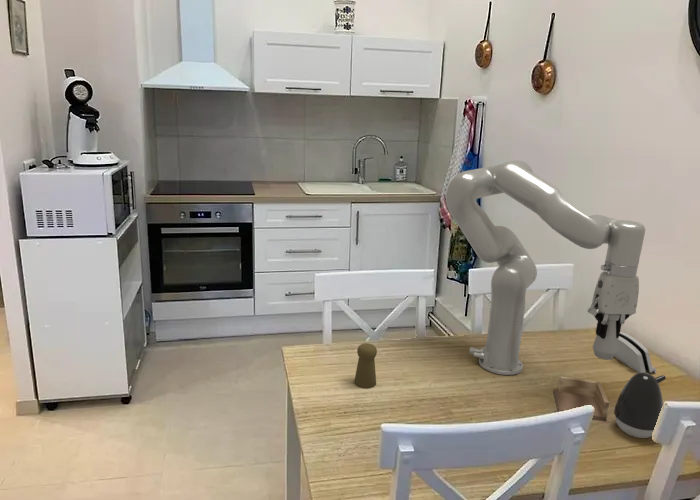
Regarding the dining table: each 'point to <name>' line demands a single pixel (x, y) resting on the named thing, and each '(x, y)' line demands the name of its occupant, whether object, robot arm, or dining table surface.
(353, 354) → the dining table surface
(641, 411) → the pump dispenser
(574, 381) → the corner tray
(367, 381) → the brown pawn
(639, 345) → the white rounded block
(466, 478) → the dining table surface
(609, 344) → the salt shaker
